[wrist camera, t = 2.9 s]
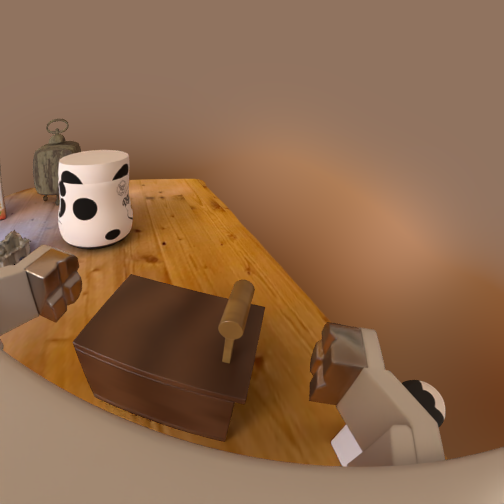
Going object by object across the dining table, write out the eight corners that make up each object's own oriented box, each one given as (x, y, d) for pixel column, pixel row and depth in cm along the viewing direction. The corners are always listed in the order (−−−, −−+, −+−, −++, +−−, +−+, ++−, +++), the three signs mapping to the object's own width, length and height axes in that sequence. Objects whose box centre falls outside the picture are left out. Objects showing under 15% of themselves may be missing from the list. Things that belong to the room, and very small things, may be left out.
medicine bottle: (353, 491, 21) (417, 446, 15) (328, 441, 27) (377, 382, 21) (401, 466, 23) (465, 413, 17) (376, 424, 29) (427, 363, 23)
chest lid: (263, 312, 33) (274, 267, 30) (244, 404, 22) (256, 360, 19) (131, 279, 34) (128, 235, 31) (74, 347, 23) (58, 298, 20)
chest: (245, 360, 37) (256, 310, 33) (224, 442, 26) (233, 402, 22) (137, 330, 38) (131, 279, 34) (94, 397, 27) (74, 348, 23)
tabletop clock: (82, 196, 78) (83, 115, 66) (79, 206, 71) (78, 118, 59) (41, 199, 72) (39, 120, 60) (34, 210, 65) (30, 123, 53)
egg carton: (19, 244, 49) (15, 228, 47) (36, 253, 48) (32, 235, 46) (-15, 265, 40) (-20, 248, 38) (0, 277, 39) (-6, 258, 37)
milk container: (148, 233, 63) (151, 154, 55) (93, 266, 49) (85, 171, 40) (100, 215, 68) (98, 146, 59) (47, 240, 53) (39, 161, 45)
